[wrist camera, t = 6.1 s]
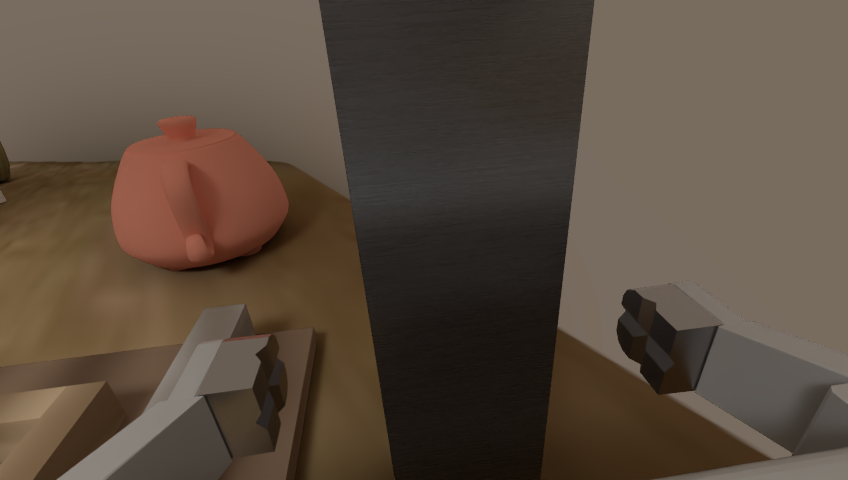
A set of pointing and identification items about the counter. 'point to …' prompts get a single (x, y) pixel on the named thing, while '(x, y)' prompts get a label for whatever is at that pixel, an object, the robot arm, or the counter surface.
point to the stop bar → (461, 215)
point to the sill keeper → (134, 400)
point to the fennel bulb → (4, 165)
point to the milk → (2, 198)
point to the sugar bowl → (195, 197)
